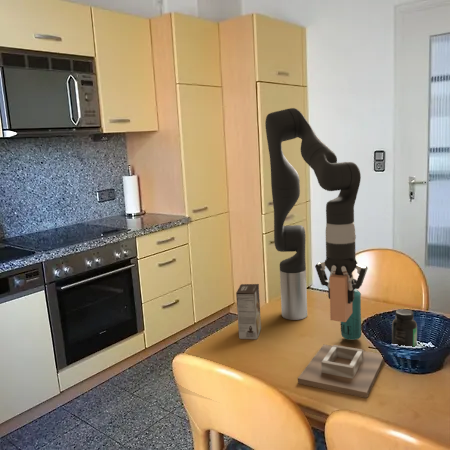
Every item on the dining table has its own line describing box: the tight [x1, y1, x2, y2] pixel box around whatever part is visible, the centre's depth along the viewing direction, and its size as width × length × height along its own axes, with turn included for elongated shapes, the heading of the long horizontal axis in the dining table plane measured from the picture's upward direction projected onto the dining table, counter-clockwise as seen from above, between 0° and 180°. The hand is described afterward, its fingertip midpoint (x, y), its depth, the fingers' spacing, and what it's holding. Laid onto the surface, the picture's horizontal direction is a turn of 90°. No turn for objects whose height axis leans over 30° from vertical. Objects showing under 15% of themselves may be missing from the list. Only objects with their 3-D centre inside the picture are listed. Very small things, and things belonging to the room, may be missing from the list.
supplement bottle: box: [391, 308, 418, 347], centre depth 139 cm, size 7×7×12 cm
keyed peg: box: [329, 274, 352, 323], centre depth 126 cm, size 4×7×12 cm, turn 150°
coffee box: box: [235, 283, 262, 340], centre depth 157 cm, size 9×6×16 cm
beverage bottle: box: [339, 278, 363, 341], centre depth 147 cm, size 6×7×20 cm
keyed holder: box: [297, 344, 385, 399], centre depth 130 cm, size 22×18×4 cm
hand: (341, 301), depth 127 cm, fingers closed on keyed peg, 4 cm apart
